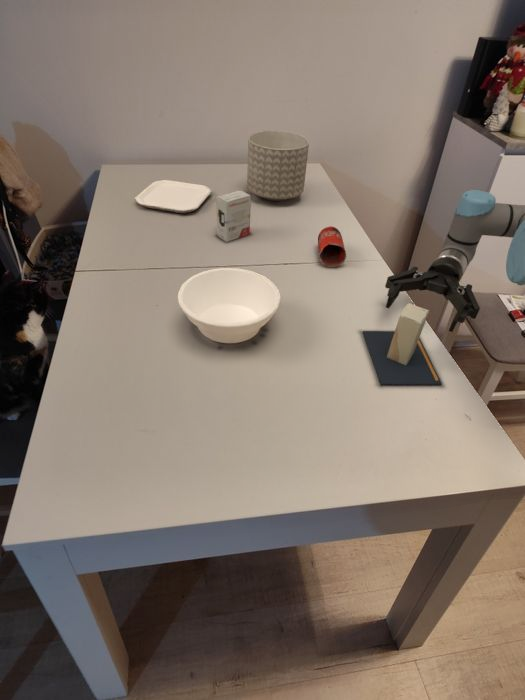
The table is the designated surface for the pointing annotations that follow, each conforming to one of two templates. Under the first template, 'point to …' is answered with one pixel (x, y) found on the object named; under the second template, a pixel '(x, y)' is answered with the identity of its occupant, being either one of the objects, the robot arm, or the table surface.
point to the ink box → (233, 215)
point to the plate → (173, 196)
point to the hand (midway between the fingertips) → (419, 314)
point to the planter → (277, 164)
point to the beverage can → (331, 247)
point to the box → (407, 333)
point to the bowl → (229, 303)
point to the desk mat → (395, 372)
